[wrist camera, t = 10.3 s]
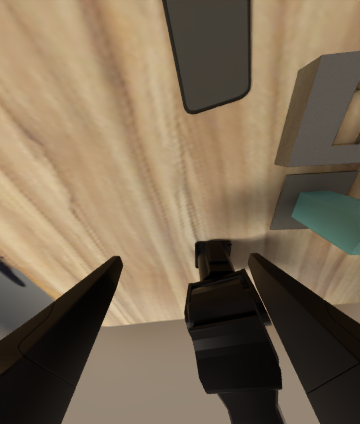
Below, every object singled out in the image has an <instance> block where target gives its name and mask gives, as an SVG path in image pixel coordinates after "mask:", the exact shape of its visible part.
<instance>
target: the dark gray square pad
mask: <svg viewBox="0 0 360 424" xmlns="http://www.w3.org/2000/svg"><path fill="white" fill-rule="evenodd" d="M358 173H359V171H344V172H327V173H310V174H293V175H286V177H285V181H284V184H283V187H282V190H281V194H280V197H279V200H278V203H277V206H276V210H275V213H274V216H273V219H272V222H271V226H270V230H285V229H309V228H308V227H306V226H305V225H303V224H302V223H300V222H299V221H297V220H296V219H294V218H293V217H291V216H292V213H293V211H294V208H295V206H296V203H297V200H298V198H299V195H300V192H317V191H332V192H336V193H339V194H342V195H346V194H347V193H348V191H349V189H350V187H351V186H352V184H353V182H354V180H355V178H356V177H357V175H358Z"/></svg>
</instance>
